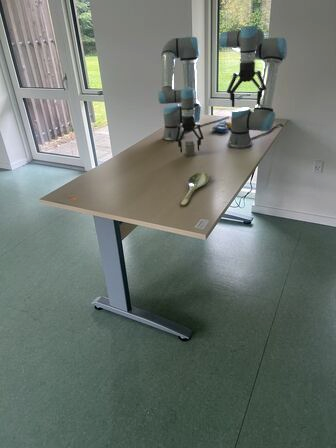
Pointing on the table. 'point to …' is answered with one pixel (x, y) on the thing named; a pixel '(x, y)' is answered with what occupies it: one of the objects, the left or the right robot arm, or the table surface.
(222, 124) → the spray gun
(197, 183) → the spoon
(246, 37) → the right robot arm
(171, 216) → the table surface
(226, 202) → the table surface
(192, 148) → the brick
